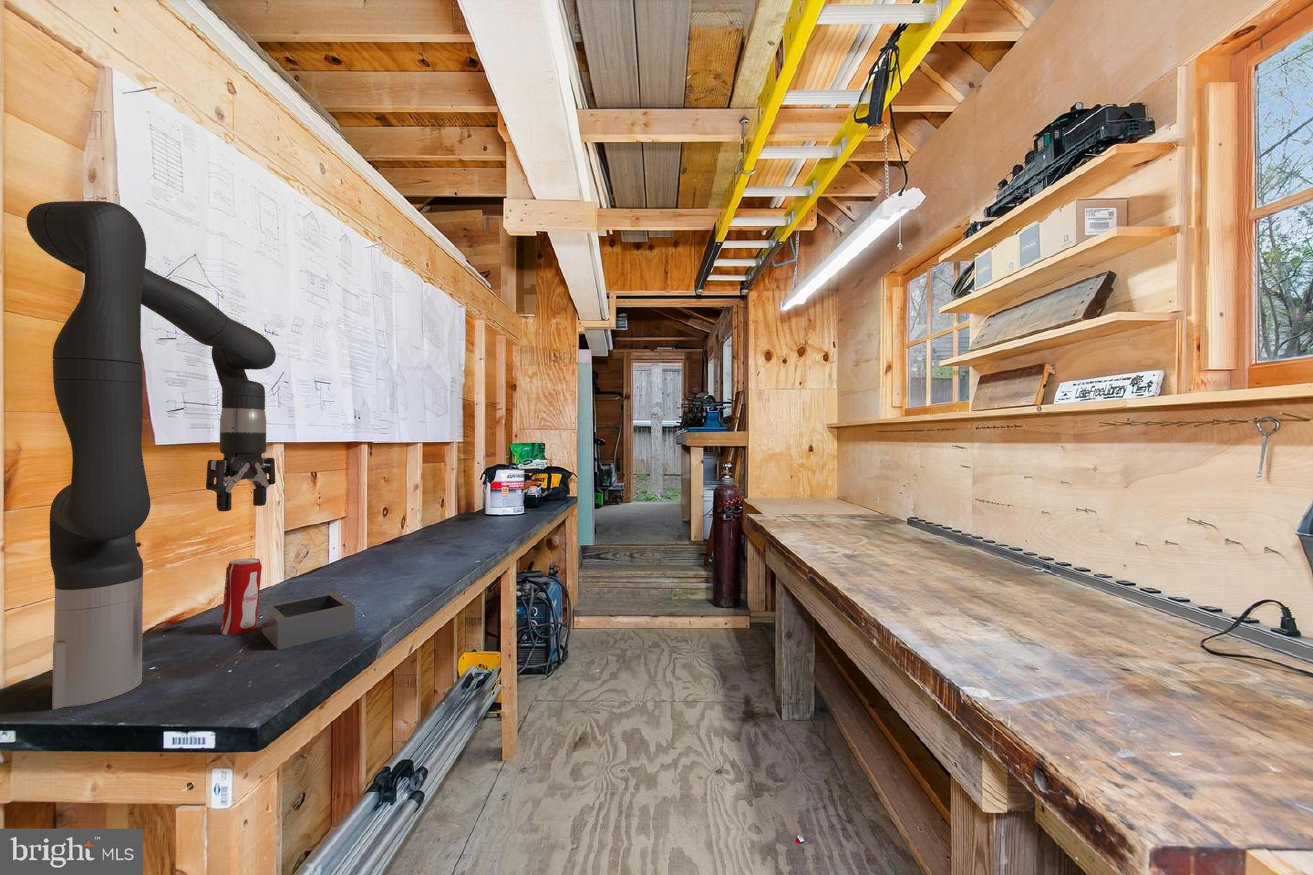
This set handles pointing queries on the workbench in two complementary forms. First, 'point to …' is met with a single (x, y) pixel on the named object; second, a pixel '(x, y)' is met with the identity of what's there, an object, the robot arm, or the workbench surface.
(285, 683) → the workbench surface
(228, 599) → the beverage can
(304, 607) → the socket block
